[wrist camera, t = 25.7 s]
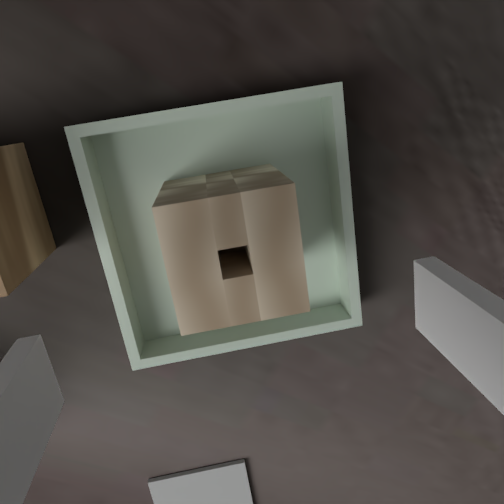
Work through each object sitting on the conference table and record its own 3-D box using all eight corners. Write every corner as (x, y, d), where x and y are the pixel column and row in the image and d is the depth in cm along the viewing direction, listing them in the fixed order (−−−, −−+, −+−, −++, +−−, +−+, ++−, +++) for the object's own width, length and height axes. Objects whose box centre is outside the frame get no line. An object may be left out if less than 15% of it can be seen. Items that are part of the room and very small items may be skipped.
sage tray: (138, 347, 33) (132, 370, 30) (77, 125, 28) (63, 126, 25) (348, 307, 34) (362, 325, 31) (328, 84, 28) (342, 81, 26)
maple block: (185, 280, 31) (181, 335, 23) (164, 181, 29) (151, 207, 21) (283, 262, 31) (310, 311, 24) (270, 163, 29) (294, 182, 22)
